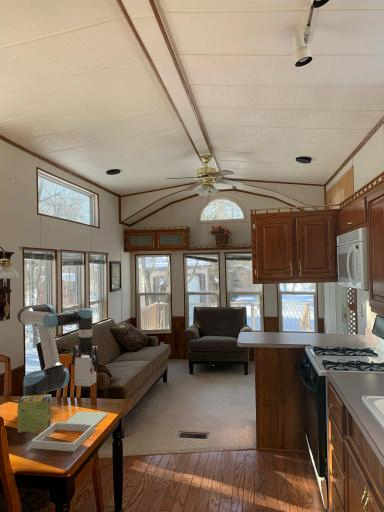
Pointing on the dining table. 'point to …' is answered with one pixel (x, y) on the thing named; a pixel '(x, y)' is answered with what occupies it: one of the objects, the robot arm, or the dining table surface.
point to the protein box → (34, 413)
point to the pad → (87, 418)
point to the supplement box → (84, 371)
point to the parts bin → (62, 446)
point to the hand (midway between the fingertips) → (85, 376)
